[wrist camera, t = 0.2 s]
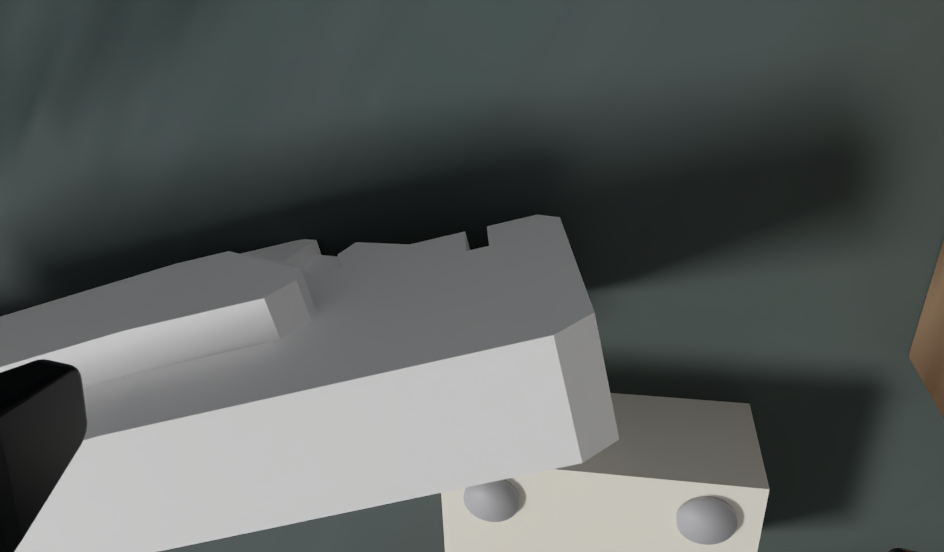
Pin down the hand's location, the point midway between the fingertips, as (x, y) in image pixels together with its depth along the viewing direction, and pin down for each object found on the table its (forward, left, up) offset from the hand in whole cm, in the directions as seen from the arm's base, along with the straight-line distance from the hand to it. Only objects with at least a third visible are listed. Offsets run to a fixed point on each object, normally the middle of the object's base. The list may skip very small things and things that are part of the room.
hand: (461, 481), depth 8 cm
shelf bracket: (-7, +11, -14) cm, 19 cm away
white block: (-12, -2, -14) cm, 19 cm away
